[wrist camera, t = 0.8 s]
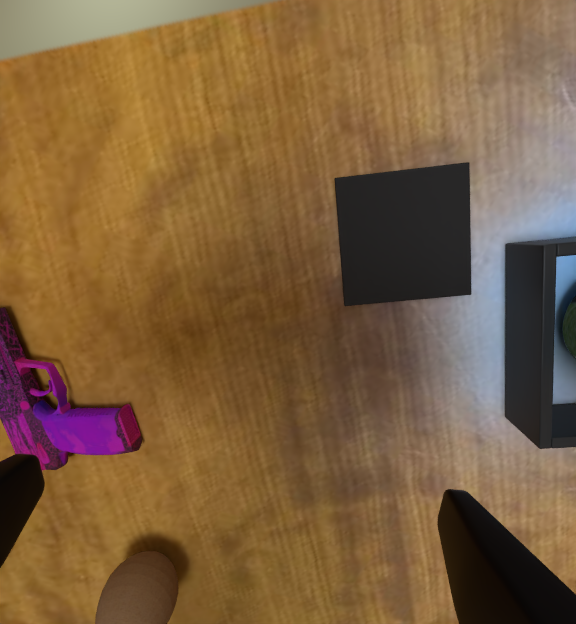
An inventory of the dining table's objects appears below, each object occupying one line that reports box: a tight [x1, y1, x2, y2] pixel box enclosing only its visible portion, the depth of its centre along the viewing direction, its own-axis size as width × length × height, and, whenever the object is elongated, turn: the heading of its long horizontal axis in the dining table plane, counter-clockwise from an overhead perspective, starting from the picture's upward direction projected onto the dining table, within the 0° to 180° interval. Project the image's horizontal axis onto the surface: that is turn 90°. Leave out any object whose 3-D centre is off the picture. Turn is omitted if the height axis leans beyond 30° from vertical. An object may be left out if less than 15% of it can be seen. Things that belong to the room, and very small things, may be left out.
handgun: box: [0, 307, 142, 470], centre depth 22 cm, size 21×8×2 cm, turn 17°
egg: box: [95, 551, 178, 624], centre depth 23 cm, size 4×4×6 cm
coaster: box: [335, 162, 471, 306], centre depth 21 cm, size 7×7×1 cm
